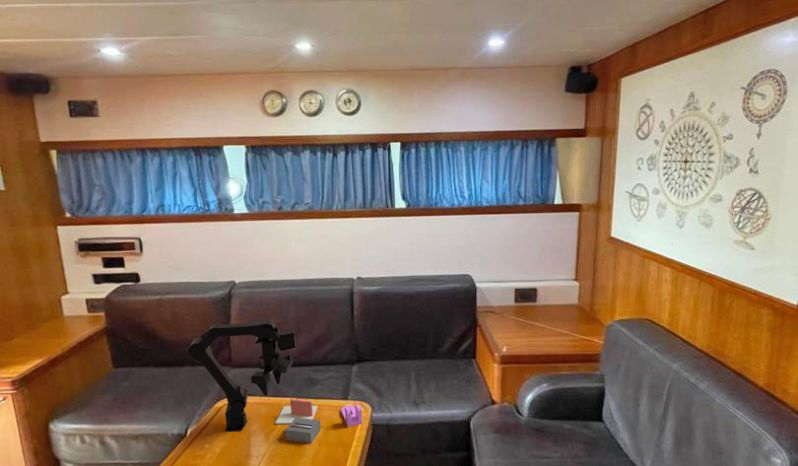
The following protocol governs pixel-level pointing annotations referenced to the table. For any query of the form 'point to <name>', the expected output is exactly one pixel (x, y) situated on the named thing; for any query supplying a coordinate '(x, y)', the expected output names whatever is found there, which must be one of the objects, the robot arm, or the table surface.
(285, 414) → the mat
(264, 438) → the table surface
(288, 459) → the table surface
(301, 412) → the pink rectangular prism
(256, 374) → the robot arm
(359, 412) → the bracket
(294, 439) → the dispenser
